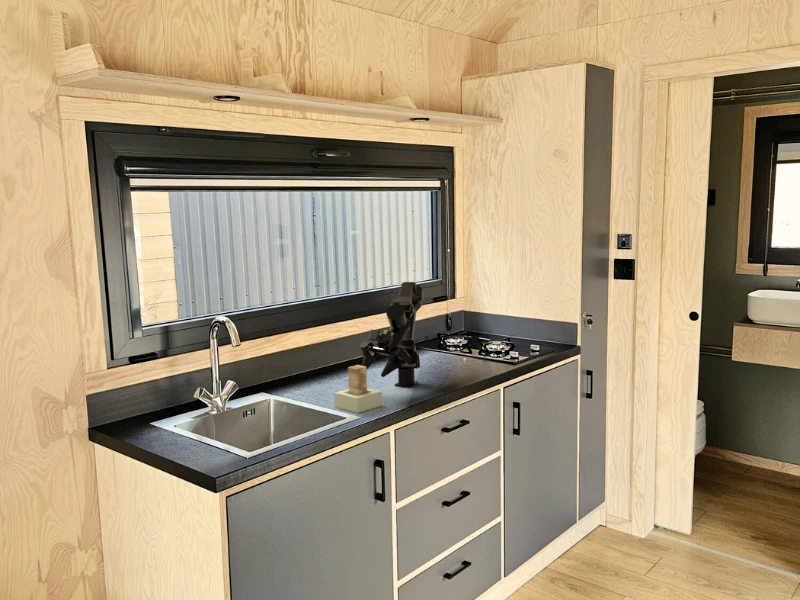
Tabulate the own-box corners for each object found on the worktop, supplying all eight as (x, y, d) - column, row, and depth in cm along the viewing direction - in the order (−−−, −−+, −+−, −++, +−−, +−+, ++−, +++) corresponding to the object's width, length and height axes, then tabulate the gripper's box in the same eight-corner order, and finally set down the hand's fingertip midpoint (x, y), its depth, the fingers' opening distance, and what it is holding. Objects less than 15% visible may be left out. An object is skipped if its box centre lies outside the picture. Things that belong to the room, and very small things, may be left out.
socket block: (359, 399, 229) (358, 386, 229) (382, 405, 222) (381, 391, 222) (334, 406, 222) (334, 392, 221) (357, 413, 215) (357, 398, 214)
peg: (358, 403, 225) (357, 364, 223) (367, 406, 222) (366, 366, 220) (349, 406, 222) (348, 367, 220) (358, 408, 219) (356, 369, 218)
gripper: (362, 316, 233) (337, 355, 227) (403, 322, 221) (378, 364, 214) (380, 336, 240) (356, 375, 234) (421, 343, 227) (397, 384, 221)
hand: (371, 374), depth 226 cm, fingers open, 9 cm apart
